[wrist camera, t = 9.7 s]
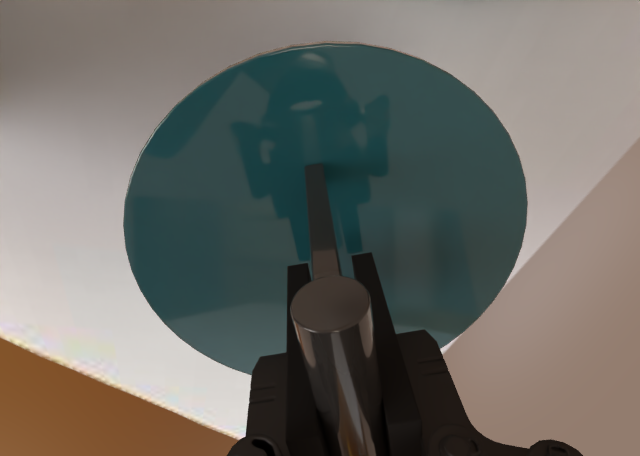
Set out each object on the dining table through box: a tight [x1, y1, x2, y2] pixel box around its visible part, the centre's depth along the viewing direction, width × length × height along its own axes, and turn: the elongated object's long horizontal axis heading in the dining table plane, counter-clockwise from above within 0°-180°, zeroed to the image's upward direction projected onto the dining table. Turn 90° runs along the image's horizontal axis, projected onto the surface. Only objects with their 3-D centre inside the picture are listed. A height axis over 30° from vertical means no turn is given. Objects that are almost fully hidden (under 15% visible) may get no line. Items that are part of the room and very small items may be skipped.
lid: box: [123, 41, 528, 456], centre depth 14 cm, size 17×17×10 cm
